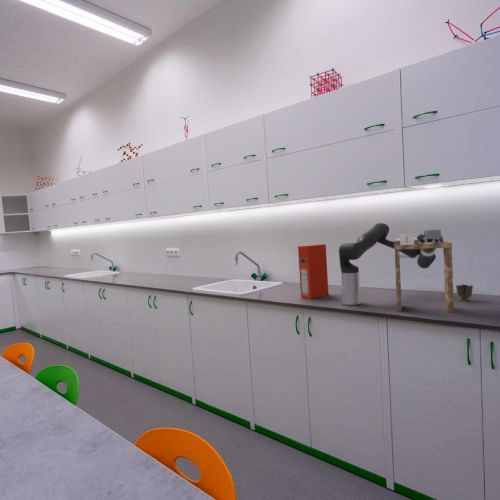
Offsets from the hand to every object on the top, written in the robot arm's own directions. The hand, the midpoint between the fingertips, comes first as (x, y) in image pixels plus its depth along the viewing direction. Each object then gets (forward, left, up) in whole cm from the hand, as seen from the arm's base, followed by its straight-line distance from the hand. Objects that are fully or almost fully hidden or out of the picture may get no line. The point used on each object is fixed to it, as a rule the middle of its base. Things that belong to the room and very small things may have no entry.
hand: (430, 231), depth 179 cm
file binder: (-64, +19, -37) cm, 76 cm away
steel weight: (0, -4, -3) cm, 5 cm away
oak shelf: (-5, -10, -37) cm, 39 cm away
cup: (+16, +12, -37) cm, 42 cm away
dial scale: (-12, -10, -5) cm, 16 cm away
